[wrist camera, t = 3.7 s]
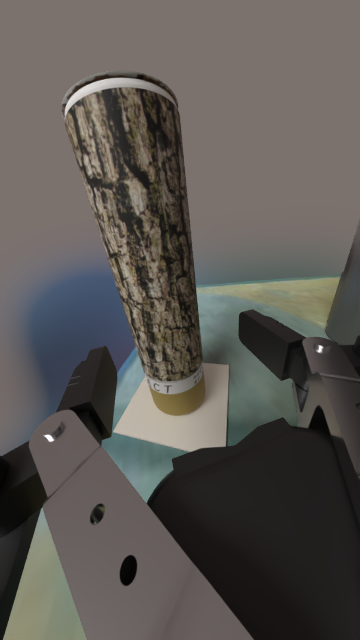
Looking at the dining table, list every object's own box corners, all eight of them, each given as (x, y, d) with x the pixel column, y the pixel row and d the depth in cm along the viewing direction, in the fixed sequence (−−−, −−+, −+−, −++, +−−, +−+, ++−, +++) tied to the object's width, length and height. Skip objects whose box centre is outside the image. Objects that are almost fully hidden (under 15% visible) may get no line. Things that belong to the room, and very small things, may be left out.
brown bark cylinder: (186, 366, 26) (151, 147, 14) (217, 396, 21) (202, 89, 9) (145, 390, 23) (60, 139, 12) (170, 432, 18) (60, 49, 6)
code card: (155, 359, 29) (155, 358, 29) (228, 366, 25) (229, 365, 25) (113, 432, 19) (113, 431, 19) (225, 460, 15) (225, 459, 15)
